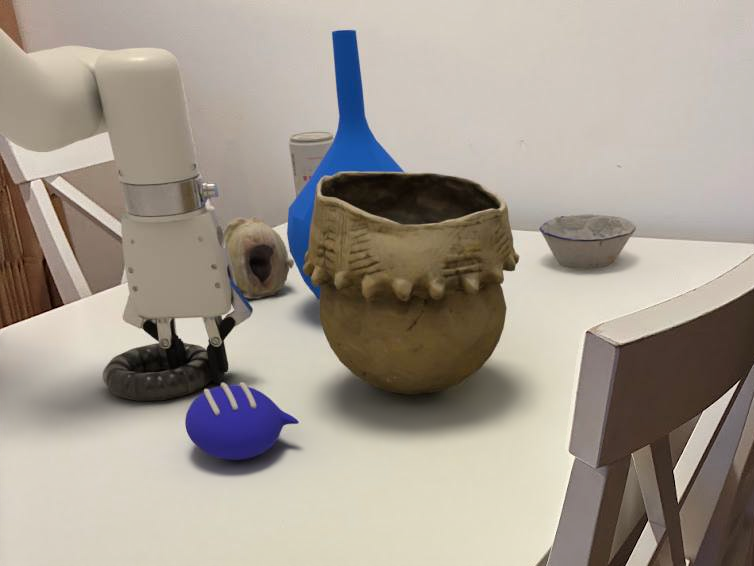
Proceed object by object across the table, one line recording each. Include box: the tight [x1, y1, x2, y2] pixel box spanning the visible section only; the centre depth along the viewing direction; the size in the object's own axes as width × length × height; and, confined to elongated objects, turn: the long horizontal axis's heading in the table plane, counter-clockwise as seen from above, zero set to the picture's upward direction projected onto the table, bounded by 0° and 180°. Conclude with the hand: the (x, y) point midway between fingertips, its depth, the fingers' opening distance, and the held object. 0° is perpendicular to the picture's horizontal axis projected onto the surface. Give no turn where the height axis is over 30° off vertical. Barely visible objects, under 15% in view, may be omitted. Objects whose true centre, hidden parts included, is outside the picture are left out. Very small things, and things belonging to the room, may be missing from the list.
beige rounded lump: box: [223, 215, 295, 300], centre depth 129 cm, size 9×8×10 cm
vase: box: [286, 29, 405, 302], centre depth 116 cm, size 18×18×30 cm
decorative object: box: [184, 381, 299, 461], centre depth 91 cm, size 10×6×10 cm
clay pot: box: [303, 171, 520, 395], centre depth 97 cm, size 21×21×20 cm
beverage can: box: [288, 130, 335, 198], centre depth 145 cm, size 7×6×15 cm
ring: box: [102, 342, 213, 402], centre depth 106 cm, size 12×12×3 cm
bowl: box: [539, 213, 637, 270], centre depth 136 cm, size 13×13×5 cm
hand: (201, 377), depth 106 cm, fingers closed on ring, 3 cm apart
